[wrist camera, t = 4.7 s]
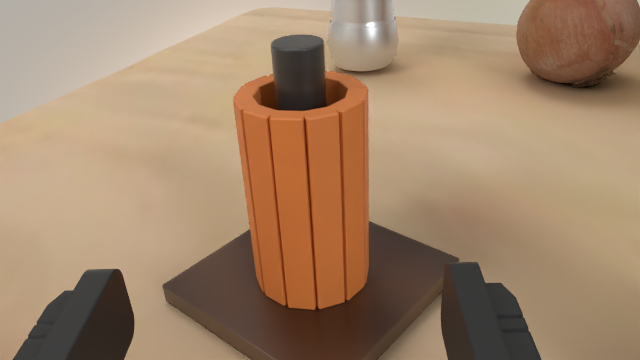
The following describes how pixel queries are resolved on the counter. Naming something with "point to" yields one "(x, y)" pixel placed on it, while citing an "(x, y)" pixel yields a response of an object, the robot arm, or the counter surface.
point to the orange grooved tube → (307, 191)
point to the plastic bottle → (362, 34)
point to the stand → (320, 324)
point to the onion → (577, 38)
